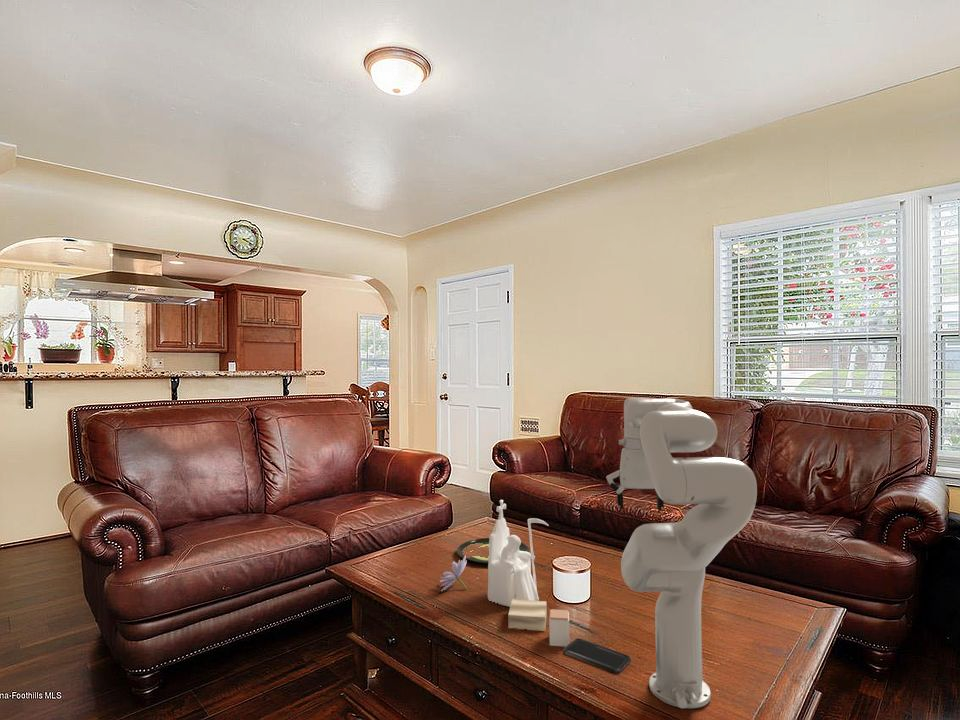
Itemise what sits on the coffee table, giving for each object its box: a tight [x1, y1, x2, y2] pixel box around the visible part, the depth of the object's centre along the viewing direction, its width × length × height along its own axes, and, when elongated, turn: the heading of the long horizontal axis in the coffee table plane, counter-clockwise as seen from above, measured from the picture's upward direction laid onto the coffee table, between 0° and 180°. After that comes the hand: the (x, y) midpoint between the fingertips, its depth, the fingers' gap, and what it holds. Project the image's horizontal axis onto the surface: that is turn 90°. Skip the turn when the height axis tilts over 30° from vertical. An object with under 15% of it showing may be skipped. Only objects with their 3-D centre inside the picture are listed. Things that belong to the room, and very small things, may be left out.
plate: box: [456, 537, 531, 565], centre depth 202 cm, size 28×28×2 cm
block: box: [507, 599, 548, 632], centre depth 148 cm, size 10×10×4 cm
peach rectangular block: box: [548, 608, 570, 648], centre depth 137 cm, size 5×5×7 cm
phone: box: [563, 637, 632, 674], centre depth 129 cm, size 8×1×15 cm
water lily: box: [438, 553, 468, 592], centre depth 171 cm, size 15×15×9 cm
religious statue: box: [487, 499, 550, 608], centre depth 163 cm, size 17×14×30 cm
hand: (640, 508), depth 139 cm, fingers open, 9 cm apart
